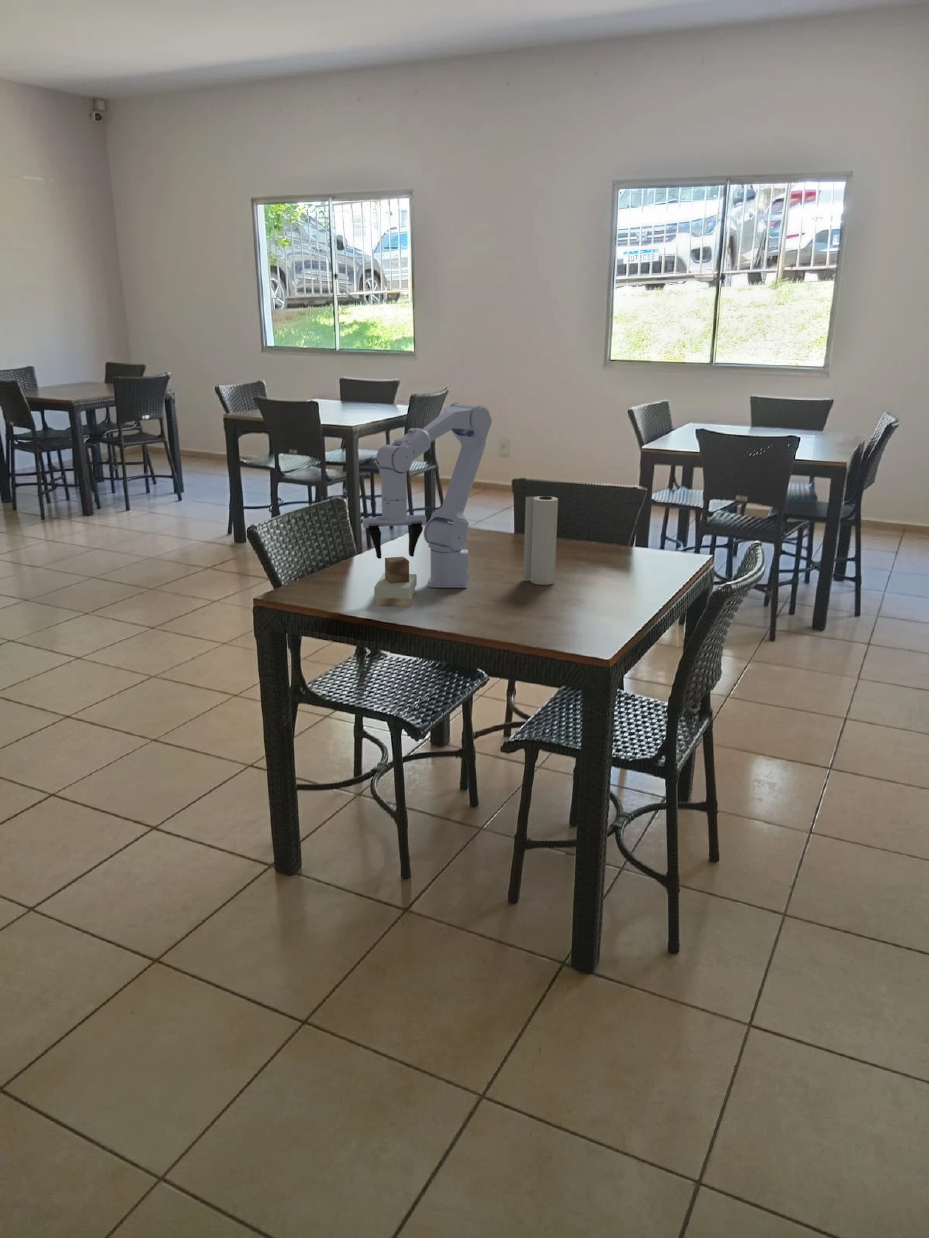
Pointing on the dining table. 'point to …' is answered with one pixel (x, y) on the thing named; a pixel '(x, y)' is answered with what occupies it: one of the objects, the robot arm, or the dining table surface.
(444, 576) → the robot arm
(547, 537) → the paper towel roll
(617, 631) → the dining table surface
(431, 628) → the dining table surface
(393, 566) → the walnut block
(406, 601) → the slab bottom
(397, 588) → the slab top
